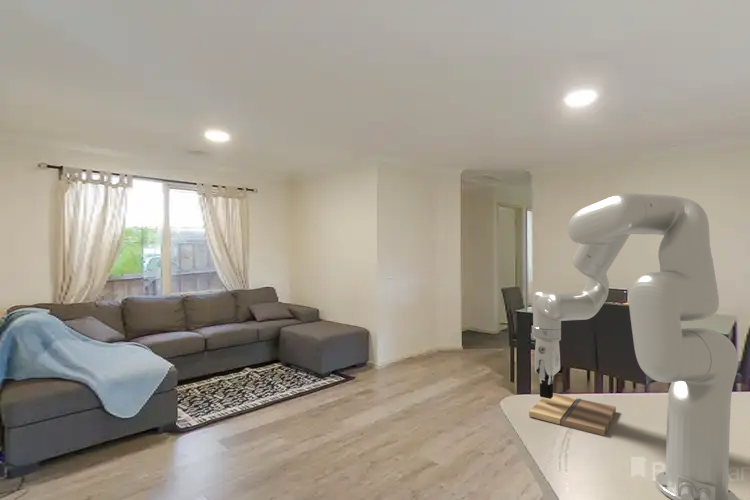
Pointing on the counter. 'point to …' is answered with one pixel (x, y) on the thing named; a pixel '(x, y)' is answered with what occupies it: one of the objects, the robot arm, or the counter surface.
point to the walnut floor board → (589, 416)
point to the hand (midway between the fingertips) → (546, 397)
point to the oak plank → (552, 408)
